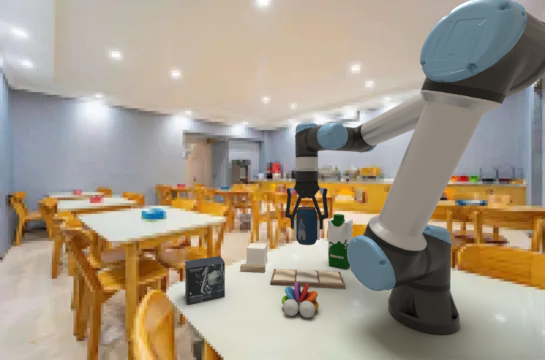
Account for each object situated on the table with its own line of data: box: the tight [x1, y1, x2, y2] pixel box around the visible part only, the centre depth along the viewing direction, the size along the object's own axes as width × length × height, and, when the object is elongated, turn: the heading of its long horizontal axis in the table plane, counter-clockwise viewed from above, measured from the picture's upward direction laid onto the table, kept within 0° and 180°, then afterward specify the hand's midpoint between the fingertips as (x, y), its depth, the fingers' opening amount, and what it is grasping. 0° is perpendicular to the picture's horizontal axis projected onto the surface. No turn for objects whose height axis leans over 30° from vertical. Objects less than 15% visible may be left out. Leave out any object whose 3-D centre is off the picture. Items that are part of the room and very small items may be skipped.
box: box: [184, 255, 226, 306], centre depth 72 cm, size 11×7×10 cm, turn 115°
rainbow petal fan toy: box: [281, 282, 320, 319], centre depth 64 cm, size 8×10×7 cm
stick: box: [239, 263, 266, 274], centre depth 90 cm, size 2×9×2 cm, turn 83°
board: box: [269, 268, 346, 290], centre depth 83 cm, size 11×24×1 cm, turn 83°
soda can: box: [295, 206, 318, 246], centre depth 82 cm, size 7×7×12 cm
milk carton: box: [327, 213, 354, 270], centre depth 96 cm, size 9×9×20 cm
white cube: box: [246, 242, 268, 266], centre depth 98 cm, size 7×7×7 cm
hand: (306, 238), depth 82 cm, fingers closed on soda can, 7 cm apart
